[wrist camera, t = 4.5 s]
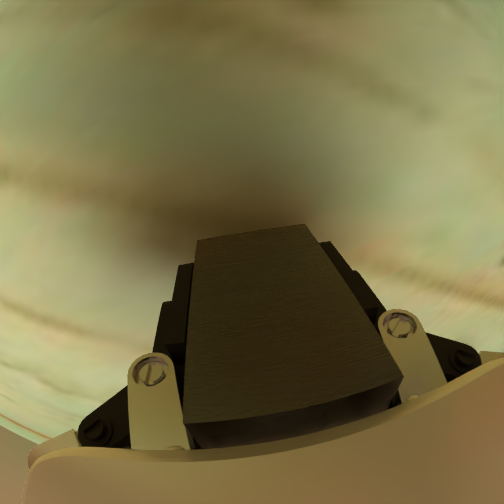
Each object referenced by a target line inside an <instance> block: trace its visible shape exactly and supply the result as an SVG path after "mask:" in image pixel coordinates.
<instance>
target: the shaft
mask: <svg viewBox="0 0 504 504" xmlns="http://www.w3.org/2000/svg"><path fill="white" fill-rule="evenodd" d="M403 378H404V376H403V374H402V372H401V370H400V369H399V367H398V365H397V364H396V362H395V360H394V358H393V357H392V355H391V353H390V352H389V350H388V348H387V347H386V345H385V343H384V342H383V340H382V338H381V337H380V335H379V334H378V332H377V330H376V329H375V327H374V326H373V324H372V322H371V321H370V319H369V318H368V316H367V314H366V313H365V311H364V310H363V308H362V307H361V305H360V303H359V302H358V300H357V299H356V297H355V296H354V294H353V293H352V291H351V290H350V288H349V287H348V285H347V284H346V282H345V281H344V279H343V278H342V276H341V275H340V273H339V272H338V270H337V269H336V267H335V266H334V265H333V263H332V262H331V260H330V259H329V257H328V256H327V254H326V253H325V252H324V250H323V249H322V247H321V246H320V244H319V243H318V242H317V240H316V239H315V237H314V236H313V235H312V233H311V232H310V230H309V229H308V228H307V226H306V225H305V224H300V225H293V226H286V227H280V228H273V229H266V230H260V231H253V232H246V233H240V234H234V235H227V236H221V237H215V238H208V239H202V240H197V245H196V253H195V261H194V269H193V278H192V288H191V298H190V308H189V320H188V332H187V345H186V360H185V377H184V399H183V425H184V426H185V427H186V429H187V430H188V431H189V433H190V434H191V435H192V436H193V438H194V439H195V440H196V442H197V443H198V444H199V445H200V447H201V448H202V449H214V448H226V447H236V446H244V445H252V444H259V443H265V442H272V441H277V440H283V439H288V438H293V437H298V436H302V435H307V434H311V433H315V432H319V431H323V430H327V429H330V428H334V427H337V426H341V425H344V424H348V423H351V422H354V421H357V420H360V419H363V418H366V417H369V416H372V415H375V414H377V413H380V412H383V411H386V410H387V408H388V407H389V405H390V403H391V401H392V399H393V398H394V396H395V394H396V392H397V390H398V388H399V386H400V384H401V382H402V380H403Z"/></svg>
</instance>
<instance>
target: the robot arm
mask: <svg viewBox="0 0 504 504" xmlns="http://www.w3.org/2000/svg"><path fill="white" fill-rule="evenodd" d="M319 244H320V246H321V247H322V249H323V250H324V252H325V253H326V254H327V256H328V257H329V259H330V260H331V262H332V263H333V265H334V266H335V267H336V269H337V270H338V272H339V273H340V275H341V276H342V278H343V279H344V281H345V282H346V284H347V285H348V287H349V288H350V290H351V291H352V293H353V294H354V296H355V297H356V299H357V300H358V302H359V303H360V305H361V307H362V308H363V310H364V311H365V313H366V314H367V316H368V318H369V319H370V321H371V322H372V324H373V326H374V327H375V329H376V330H377V332H378V334H379V335H380V337H381V338H382V340H383V342H384V343H385V345H386V347H387V348H388V350H389V352H390V353H391V355H392V357H393V358H394V360H395V362H396V364H397V365H398V367H399V369H400V370H401V372H402V374H403V376H404V378H403V380H402V382H401V384H400V386H399V388H398V390H397V392H396V394H395V396H394V398H393V399H392V401H391V403H390V405H389V407H388V408H387V410H386V411H383V412H380V413H377V414H375V415H372V416H369V417H366V418H363V419H360V420H357V421H354V422H351V423H348V424H344V425H341V426H337V427H334V428H330V429H327V430H323V431H319V432H315V433H311V434H307V435H302V436H298V437H293V438H288V439H283V440H277V441H272V442H265V443H259V444H252V445H244V446H236V447H226V448H214V449H202V448H201V447H200V445H199V444H198V443H197V442H196V440H195V439H194V438H193V436H192V435H191V434H190V433H189V431H188V430H187V429H186V427H185V426H184V425H183V399H184V377H185V360H186V345H187V332H188V320H189V308H190V298H191V288H192V278H193V269H194V263H190V264H184V265H179V267H178V271H177V276H176V282H175V287H174V292H173V298H172V301H167V302H163V304H162V307H161V311H160V316H159V321H158V326H157V331H156V336H155V341H154V347H153V352H152V353H148V354H145V355H142V356H141V357H139V358H137V359H136V360H135V361H134V362H133V363H132V364H131V366H130V368H129V370H128V385H127V386H126V387H125V388H123V389H122V390H121V391H119V392H118V393H117V394H116V395H114V396H113V397H112V398H110V399H109V400H108V401H106V402H105V403H104V404H102V405H101V406H100V407H98V408H97V409H96V410H94V411H93V412H92V413H90V414H89V415H88V416H86V417H85V418H84V419H83V420H82V422H81V424H80V425H79V429H78V430H77V431H75V430H74V429H71V430H69V431H67V432H65V433H63V434H61V435H59V436H57V437H54V438H52V439H50V440H48V441H45V442H43V443H41V444H39V445H36V446H35V447H33V448H32V450H31V451H30V453H29V456H28V465H29V469H30V470H29V472H28V474H27V477H26V480H25V484H24V487H23V492H22V497H21V503H20V504H504V353H500V352H488V351H480V352H479V354H478V353H477V351H476V350H475V349H474V348H472V347H471V346H469V345H466V344H463V343H460V342H456V341H453V340H449V339H446V338H443V337H439V336H436V335H433V334H429V333H426V332H425V331H424V329H423V327H422V325H421V323H420V321H419V319H418V318H417V317H416V316H415V315H414V314H412V313H410V312H408V311H406V310H401V309H392V310H388V311H387V310H386V309H385V308H384V306H383V305H382V303H381V302H380V301H379V299H378V298H377V297H376V295H375V294H374V293H373V291H372V290H371V289H370V287H369V286H368V285H367V283H366V282H365V281H364V279H363V278H362V277H361V275H360V274H359V273H358V272H357V271H355V270H352V269H351V268H350V266H349V265H348V264H347V262H346V261H345V260H344V259H343V257H342V256H341V255H340V253H339V252H338V251H337V249H336V248H335V247H334V246H333V244H332V243H331V242H330V241H328V242H322V243H319Z"/></svg>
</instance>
